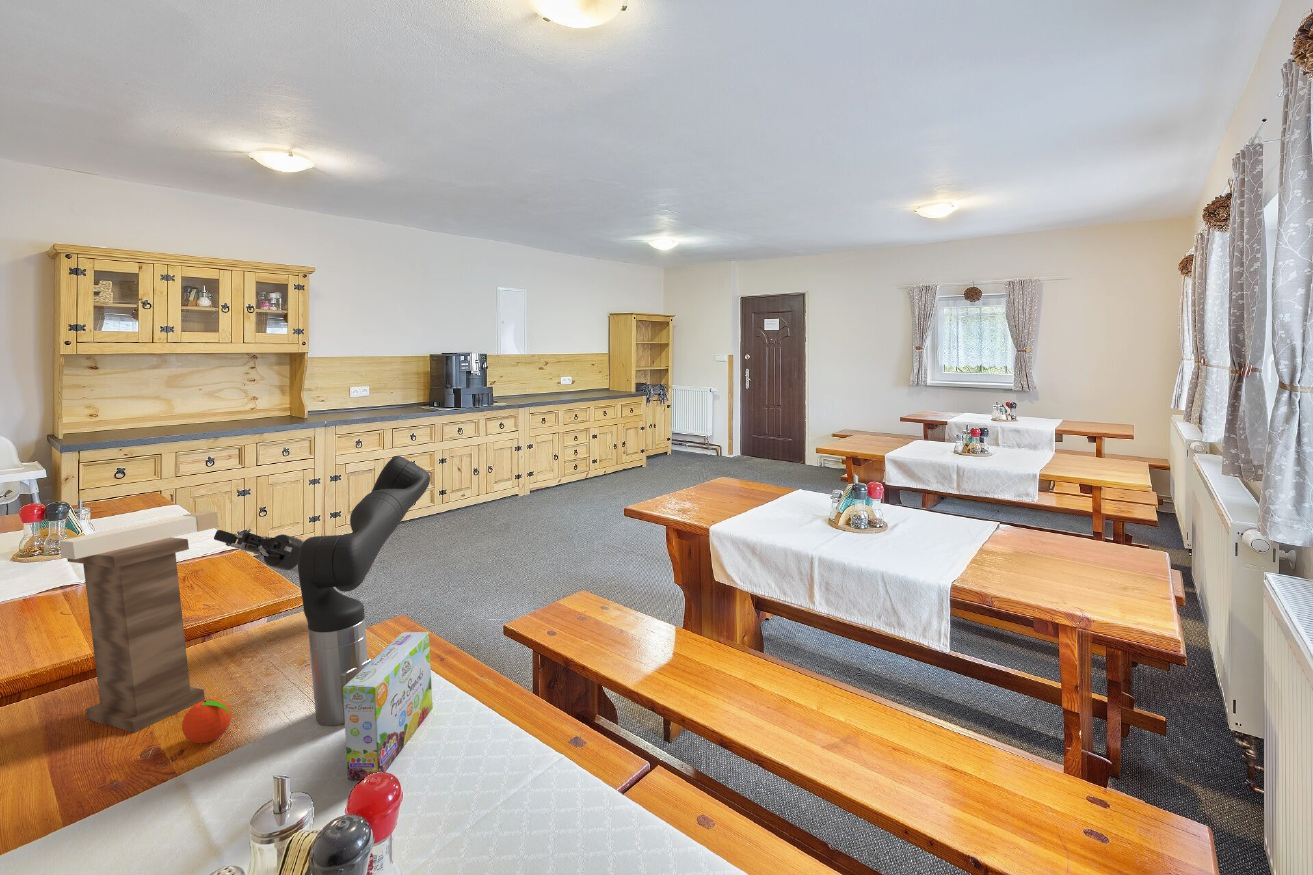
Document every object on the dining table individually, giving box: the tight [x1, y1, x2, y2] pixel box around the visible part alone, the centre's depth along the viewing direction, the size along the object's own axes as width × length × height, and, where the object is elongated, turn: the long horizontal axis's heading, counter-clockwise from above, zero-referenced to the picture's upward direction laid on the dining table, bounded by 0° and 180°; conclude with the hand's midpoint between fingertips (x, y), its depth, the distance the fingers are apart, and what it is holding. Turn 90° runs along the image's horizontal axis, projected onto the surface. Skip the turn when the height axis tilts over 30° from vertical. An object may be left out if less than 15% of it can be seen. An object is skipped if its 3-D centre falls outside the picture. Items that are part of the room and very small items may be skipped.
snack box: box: [343, 631, 434, 781], centre depth 104 cm, size 21×6×15 cm, turn 179°
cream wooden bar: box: [59, 510, 219, 559], centre depth 117 cm, size 4×24×3 cm, turn 159°
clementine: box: [181, 698, 233, 744], centre depth 106 cm, size 8×7×7 cm
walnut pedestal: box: [66, 537, 206, 733], centre depth 116 cm, size 14×12×32 cm
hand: (229, 535), depth 132 cm, fingers open, 8 cm apart
